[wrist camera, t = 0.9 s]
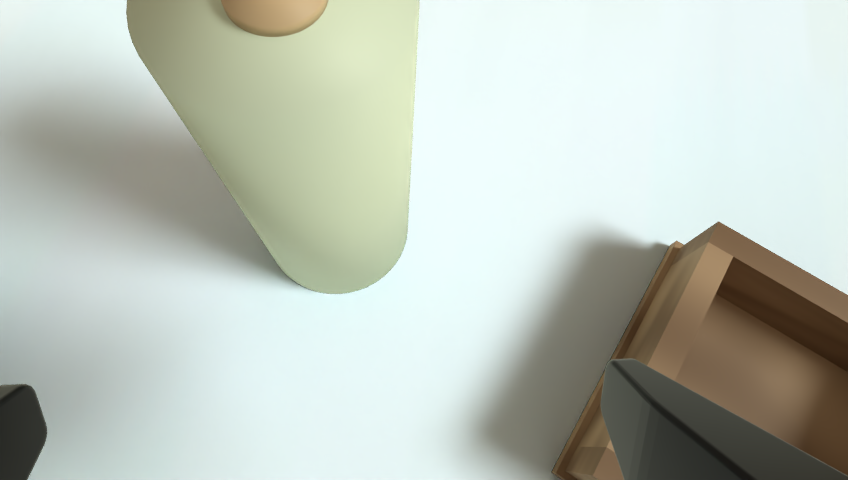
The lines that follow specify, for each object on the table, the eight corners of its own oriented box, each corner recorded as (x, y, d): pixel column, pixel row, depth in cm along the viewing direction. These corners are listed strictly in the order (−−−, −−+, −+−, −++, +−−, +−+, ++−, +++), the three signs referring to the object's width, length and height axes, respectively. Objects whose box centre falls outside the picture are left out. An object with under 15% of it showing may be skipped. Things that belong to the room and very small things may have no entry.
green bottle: (353, 321, 22) (298, 165, 10) (238, 243, 23) (52, 8, 11) (434, 210, 24) (474, -41, 12) (324, 142, 25) (252, -158, 12)
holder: (828, 662, 19) (924, 710, 15) (551, 472, 20) (582, 478, 17) (913, 388, 22) (1005, 378, 19) (670, 245, 24) (715, 213, 21)
